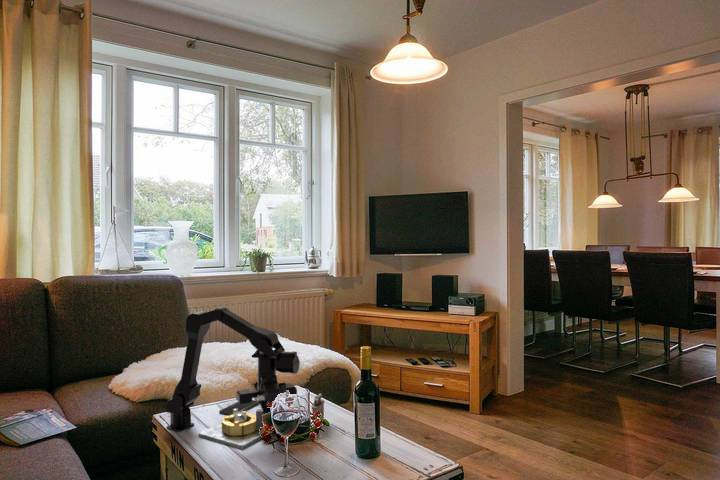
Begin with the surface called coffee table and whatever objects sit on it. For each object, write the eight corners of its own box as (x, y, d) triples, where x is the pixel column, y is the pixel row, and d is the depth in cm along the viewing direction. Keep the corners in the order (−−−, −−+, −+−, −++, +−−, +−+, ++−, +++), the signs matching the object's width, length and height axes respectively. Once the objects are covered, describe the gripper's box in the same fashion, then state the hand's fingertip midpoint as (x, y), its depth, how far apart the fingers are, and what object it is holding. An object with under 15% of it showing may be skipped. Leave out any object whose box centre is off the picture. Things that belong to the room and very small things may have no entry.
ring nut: (218, 435, 154) (218, 416, 154) (228, 422, 165) (228, 404, 165) (276, 435, 154) (276, 416, 154) (282, 422, 165) (282, 404, 165)
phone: (260, 401, 187) (234, 414, 174) (260, 404, 187) (234, 417, 174) (244, 398, 191) (217, 411, 177) (244, 401, 191) (217, 414, 177)
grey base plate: (198, 436, 157) (198, 417, 157) (238, 417, 172) (238, 401, 172) (242, 449, 147) (242, 429, 147) (280, 428, 163) (280, 410, 163)
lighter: (319, 430, 161) (319, 400, 161) (309, 429, 162) (309, 399, 162) (326, 421, 169) (326, 392, 169) (316, 420, 170) (316, 391, 170)
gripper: (243, 381, 146) (243, 433, 146) (302, 374, 154) (302, 423, 154) (235, 372, 156) (235, 420, 156) (291, 365, 164) (291, 411, 164)
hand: (266, 419), depth 157 cm, fingers closed
